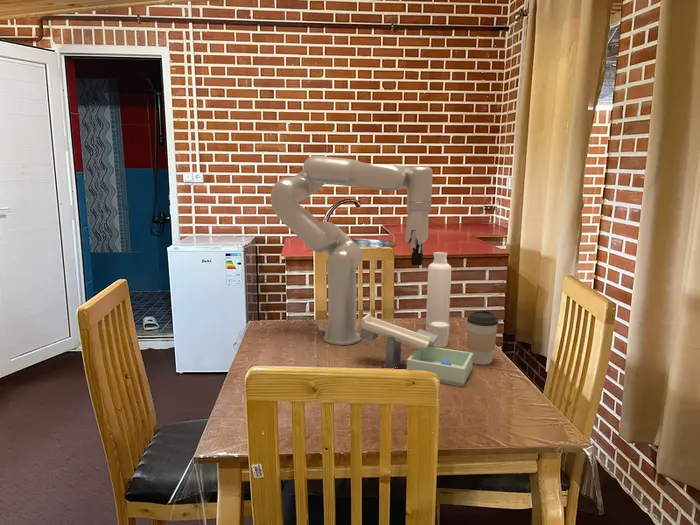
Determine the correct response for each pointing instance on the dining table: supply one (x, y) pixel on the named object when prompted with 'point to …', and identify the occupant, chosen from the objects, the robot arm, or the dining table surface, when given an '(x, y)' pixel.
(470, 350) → the coffee cup
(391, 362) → the lever stand
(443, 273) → the bottle
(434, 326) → the shot glass
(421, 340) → the lever
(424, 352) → the bin
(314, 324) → the dining table surface
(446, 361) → the ball
